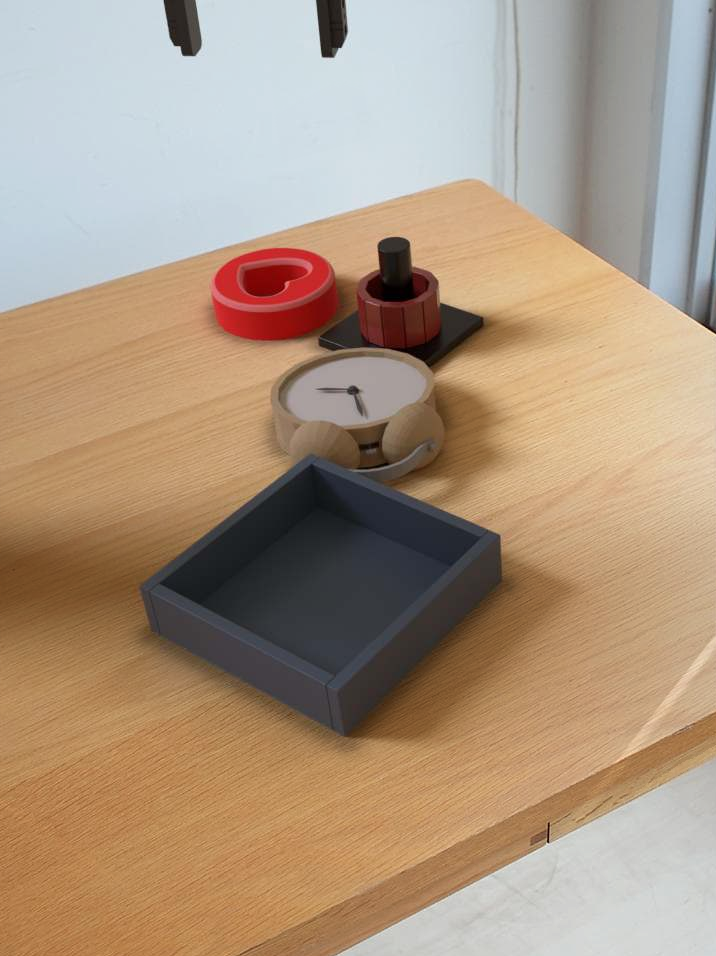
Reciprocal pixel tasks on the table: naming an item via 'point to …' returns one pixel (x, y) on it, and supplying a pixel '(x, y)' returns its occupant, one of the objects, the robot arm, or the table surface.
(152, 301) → the table surface
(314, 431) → the alarm clock
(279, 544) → the box
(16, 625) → the table surface
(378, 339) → the ring
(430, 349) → the post
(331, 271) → the decorative ornament
